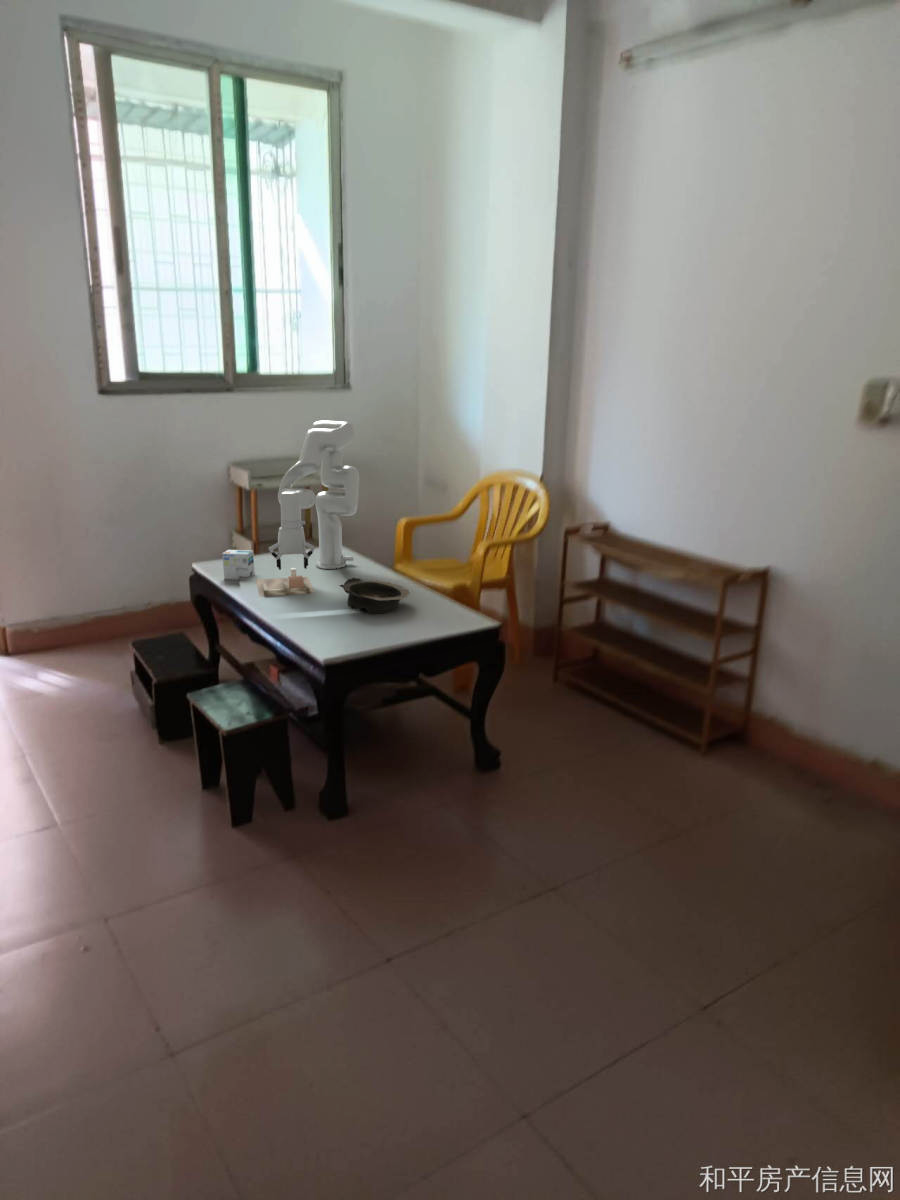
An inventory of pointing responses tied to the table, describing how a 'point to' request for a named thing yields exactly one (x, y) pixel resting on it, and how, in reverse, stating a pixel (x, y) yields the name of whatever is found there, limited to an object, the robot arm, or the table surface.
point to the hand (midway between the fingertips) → (292, 568)
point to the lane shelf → (281, 587)
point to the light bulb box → (238, 563)
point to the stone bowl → (373, 595)
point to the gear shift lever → (295, 580)
